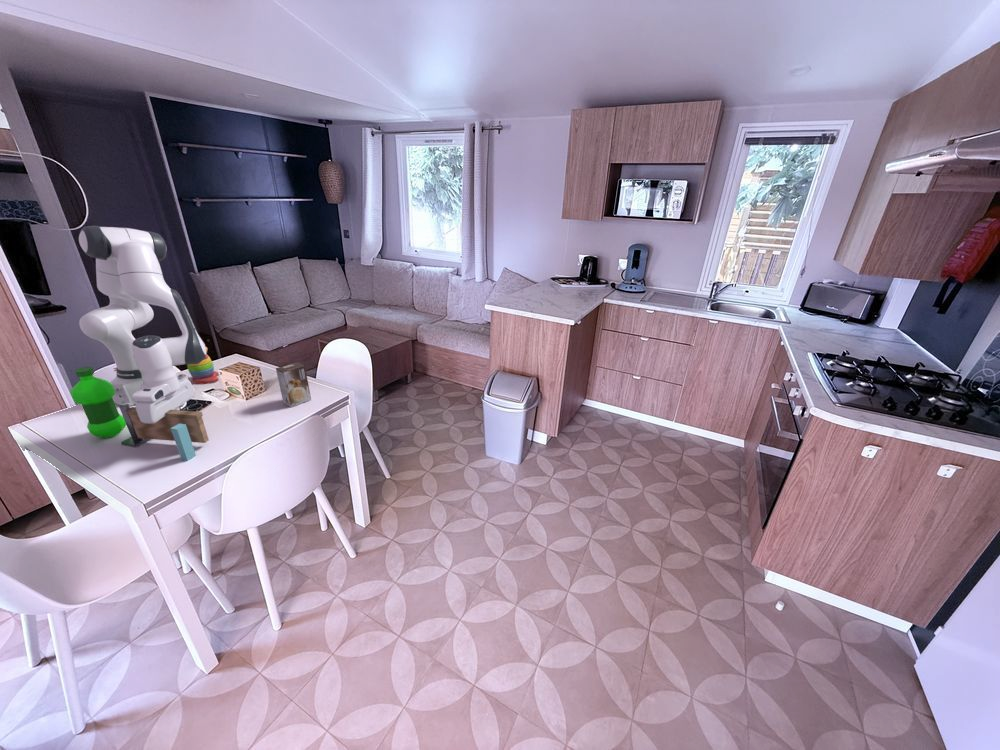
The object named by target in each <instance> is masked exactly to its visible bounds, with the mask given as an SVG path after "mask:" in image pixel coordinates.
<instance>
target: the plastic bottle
mask: <svg viewBox="0 0 1000 750" xmlns="http://www.w3.org/2000/svg"><path fill="white" fill-rule="evenodd" d="M74 373H75V375H76V377H77V378H79V379H80V380H79V381H77V382H76V384H75V385H73V387H72V388H71V389H70V395H71V397H72V399H73V401H74V402H75V403H76V404H77V405H80V406H81V407H82V410H83V412H84V414H85V416H86V418H87V421H88V422H87V426H86V427H87V429H88V431H89V433H90V434H91V435H92V436H94V437H99V438H102V439H108V438H113V437H116V436H119V434H121V432H122V431H123V430H124V429H125V428H126V427H127V425H126V422H125V420H124V418H123V415H122V414H120V413H119V411H118V408H117V404H115V403H114V400H113V398H112V397H113V396H114V394H115V390H114V387H113V386H112V384H111V383H110V382H111V381H109V380H106V379H102V378H100V377H95V376H94V374H95V371H94V368H93V367H92V366H84V367H79V368H77V369H75V370H74Z"/></svg>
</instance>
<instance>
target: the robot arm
mask: <svg viewBox="0 0 1000 750" xmlns="http://www.w3.org/2000/svg"><path fill="white" fill-rule="evenodd" d="M78 242H79V245H80V247H81V250H83V253H84V254H85V255H87V256H89V257H90V258H94V259H95V274H96V275H95V276H96V288H97V290H98V291H99V292H101V293H102V294H103V295H104V296H108V298H109V303H108V305H106V306H102V307H100V308H95V309H93V310H91V311H89V312H87V313H86V314H84V315H83V316H81V317H80V319H79V328H80V330H81V332H82V333H83V334H84V335H85V336H87V337H89V338H90V339H93V340H95V341H98V342H100V343H101V344H103V345H104V346H105V347H106V348H107V349H108V351H109V352H110V354H111V356H112V358H113V361H114V362H115V365H116V367H114V368H113V372H116V376H115V377H114V378H113V379H112V380H111V381H109V382H110V383H111V384H112V386H113V387H114V390H115V394H114V396H113V397H112V398H113V400H114V403H115V405H116V406H117V405H118V406H121V405H124V404H129V406H130V407H132V406H134V405H135V407H136V411H137V414H138V416H139V419H140V421H141V422H143V423H145V424H154V423H156V422H157V421H159V420H160V419H162V418H163V417H165V413H166V412H168V411H169V410H180V407H181V406H182V405H184V404H185V403H186V402H188V401H190V400H191V399H193V398H194V397H195V396H196V391H195V389H194V386H193V384H192V383H191V380H189V378H188V376H187V375H186V374H184V373H180V374H177V372H176V371H175V369H174V368H173V367H174V366H181V365H188V364H198V363H200V362H201V361H202V360H203V359H204V358H205V357H206V356H207V355H208V354H207V353H208V351H206V347H207V346H206V344H205V342H204V341H203V339H202V338H201V336H200V335H199V332H198V330H197V328H196V326H195V323H194V322H193V319H192V316H191V315H190V313H189V310H188V308H187V306H186V304H185V302H184V300H183V298H182V296H181V295H180V293H179V292H178V291H177V290H176V289H173V288H170V286H169V285H168V284H167V283H166V281H165V279H164V275H163V271H162V268H161V265H160V262H161V261H163V260H164V259H165V258H166V256H167V251H168V249H167V244H166V241H165V240H164V237H163V236H162V235H160V234H159V233H156V232H153V231H150V230H140V229H136V228H130V227H114V226H109V227H108V226H99V225H87V226H86V225H85V226H84V227H82V228H81V229H80V231H79V235H78ZM150 305H152V306H158V307H163V308H166V309H167V310H169V311H171V313H172V314H173V315H174V317H175V319H176V322H177V325H178V326H179V329H180V331H181V334H182V335H180V336H176V337H175V336H174V337H165V338H161V337H160V336H158V335H152V334H151V335H144V336H141V337H137V338H135V337H134V335H133V334H132V331H134V330H137V329H140V328H142V327H144V326H146V325H148V323H149V322H151V321H152V320H153V319H154V315H155V314H154V310H153V308H152V307H151V306H150ZM205 346H206V347H205ZM206 354H207V355H206Z"/></svg>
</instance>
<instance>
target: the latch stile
mask: <svg viewBox="0 0 1000 750" xmlns="http://www.w3.org/2000/svg"><path fill="white" fill-rule="evenodd" d="M171 431H172V434H173V436H174V439H175V441H174V442H175V445H176V447H177V450H178V453H179V456H180V459H181V460H183V461H187V462H188V461H190V460H191V459H193V458H195V457H196V456H197V453H196V451H195V447H194V446H193V445H194V444H193V442H191V439H190V436H189V433H188V430H187V427H186V424H180V423H179V424H178V425H176V426H174V427H172V428H171Z"/></svg>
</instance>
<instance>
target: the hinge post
mask: <svg viewBox="0 0 1000 750" xmlns="http://www.w3.org/2000/svg"><path fill="white" fill-rule="evenodd" d="M118 406H119V410H120V412H121V415H122V416H123V418H124V420H125V422H126V428H127V430H128V432H129V435H130V437H128V438H127V439H124V440H123V441H121V445H122V446H127V447H132V448H138V447H140V446H141V445H143V444H144V445H145V443H147V442H149V441H151V440H152V439H143V438H138V437H137V434H136V432H135V429H134V426H133V424H132V421H131V419H130V416H129V414H127V413H126V410H127V409H129V408H131V406H129V404H124V405H121V406H120V405H118Z"/></svg>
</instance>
